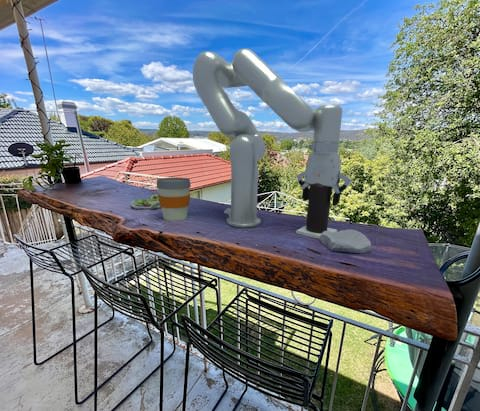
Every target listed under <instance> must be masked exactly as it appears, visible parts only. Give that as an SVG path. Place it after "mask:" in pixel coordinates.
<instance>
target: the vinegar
mask: <svg viewBox="0 0 480 411" xmlns="http://www.w3.org/2000/svg"><path fill="white" fill-rule="evenodd" d="M318 177H320V174H318ZM309 189H310V190H309V200H307V202H308V205H307V213H306V224H305V226H306V229H307V230H308V231H310V232H314V233H323V232H324V231H327V228H329V220H330V219H329V218H330V209H331V204H332V203H331V201H332V195H333V194H332V193H333V188H332V186H331V187H327V186H324V185H322V184H320V183H315V184H312V185H310V186H309Z"/></svg>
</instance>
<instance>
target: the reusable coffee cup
mask: <svg viewBox="0 0 480 411" xmlns="http://www.w3.org/2000/svg"><path fill="white" fill-rule="evenodd" d="M191 186H192V185H191V180H190V178H189V177H188V178H187V177H164V178H163V177H162V178H157V179H156V188H157V191H158V193H157V194H158V198H159V204H160V207H161V208H160V209H161V213H162V219H163V220H165V221H169V222H170V221H171V222H175V221H176V222H177V221H183V220H185V219H187V218H188V210H189V208H188V207H189V206H190V200H191V193H190V190H191V189H190V188H191Z"/></svg>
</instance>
